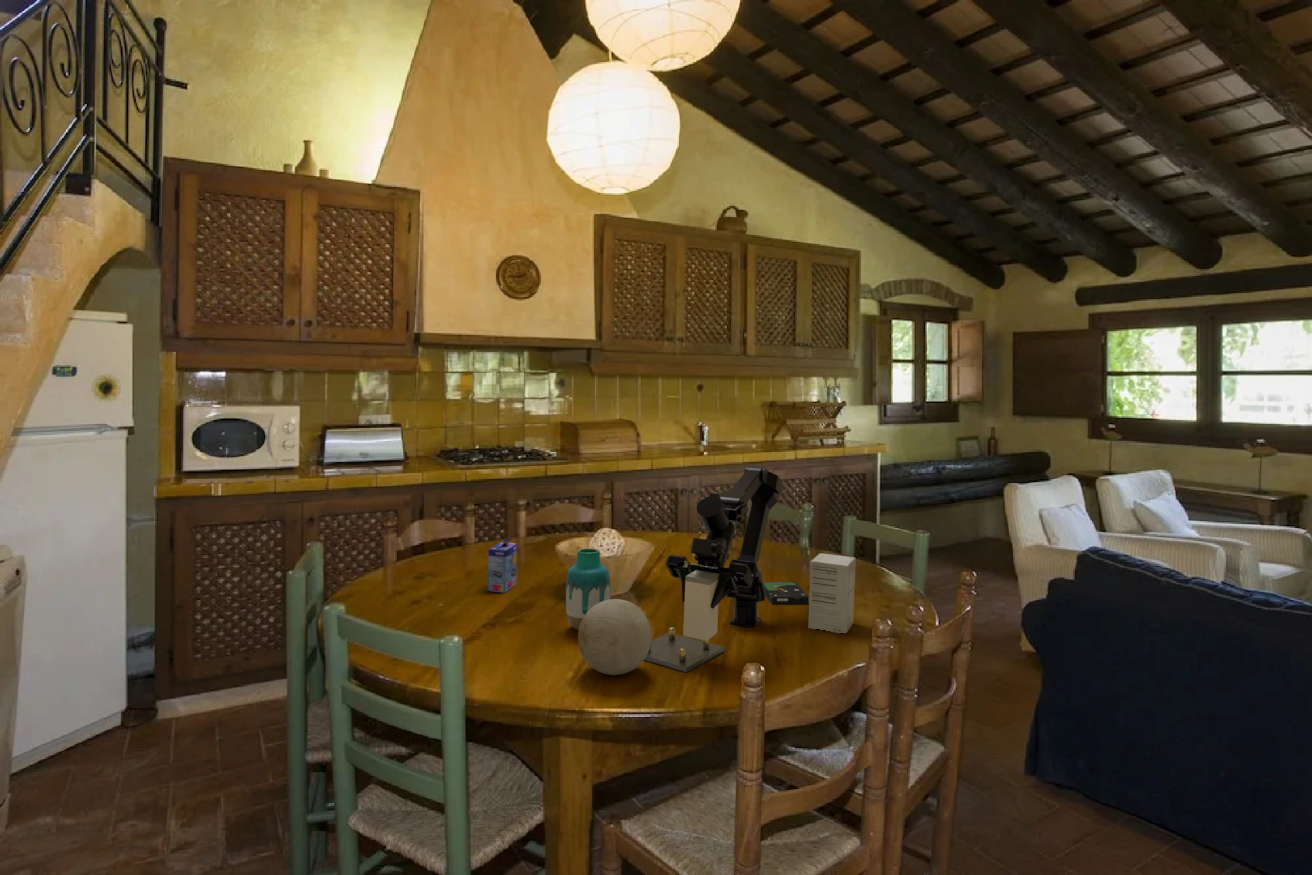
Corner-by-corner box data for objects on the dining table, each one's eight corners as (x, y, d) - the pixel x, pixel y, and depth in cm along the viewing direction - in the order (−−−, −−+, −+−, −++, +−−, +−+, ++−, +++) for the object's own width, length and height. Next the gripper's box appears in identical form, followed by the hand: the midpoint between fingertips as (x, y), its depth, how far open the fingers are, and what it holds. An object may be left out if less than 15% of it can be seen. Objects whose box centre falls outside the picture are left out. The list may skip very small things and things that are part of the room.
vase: (557, 633, 178) (558, 553, 176) (577, 619, 187) (578, 543, 186) (598, 639, 174) (599, 557, 172) (617, 625, 184) (617, 547, 182)
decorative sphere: (653, 686, 148) (654, 611, 147) (576, 688, 147) (577, 612, 146) (648, 657, 163) (649, 589, 162) (578, 659, 162) (578, 590, 160)
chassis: (668, 636, 176) (668, 622, 176) (723, 651, 167) (724, 636, 167) (628, 655, 164) (628, 639, 164) (686, 672, 155) (686, 655, 155)
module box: (693, 627, 165) (696, 569, 164) (717, 632, 163) (719, 574, 161) (683, 635, 160) (685, 576, 159) (706, 640, 158) (709, 580, 156)
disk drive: (809, 606, 203) (795, 590, 218) (810, 596, 203) (795, 580, 218) (771, 607, 202) (759, 590, 217) (772, 596, 202) (759, 581, 217)
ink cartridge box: (505, 593, 209) (505, 541, 208) (486, 592, 210) (486, 540, 209) (518, 583, 219) (518, 534, 218) (500, 582, 220) (499, 533, 218)
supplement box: (817, 617, 192) (819, 552, 190) (853, 623, 188) (856, 556, 186) (807, 628, 183) (809, 560, 182) (845, 634, 179) (848, 565, 178)
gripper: (669, 518, 167) (646, 579, 158) (749, 527, 159) (730, 591, 150) (683, 546, 175) (662, 606, 166) (760, 555, 167) (742, 619, 158)
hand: (697, 605), depth 159 cm, fingers closed on module box, 6 cm apart
